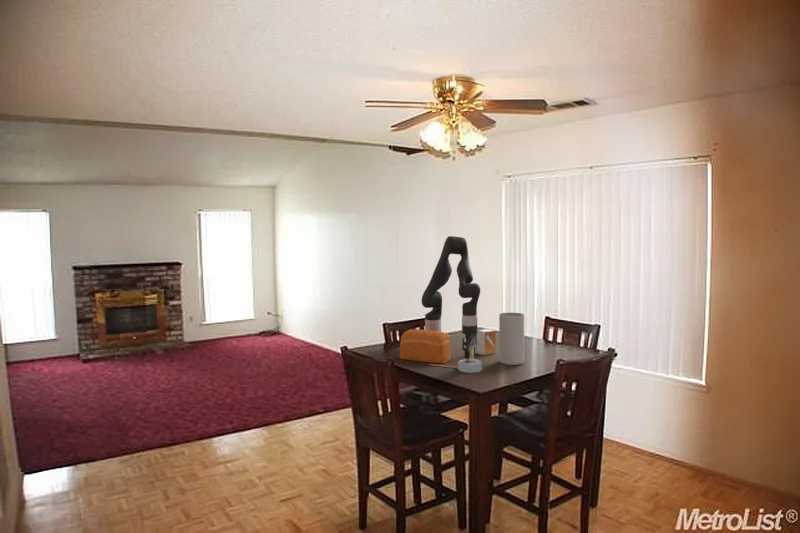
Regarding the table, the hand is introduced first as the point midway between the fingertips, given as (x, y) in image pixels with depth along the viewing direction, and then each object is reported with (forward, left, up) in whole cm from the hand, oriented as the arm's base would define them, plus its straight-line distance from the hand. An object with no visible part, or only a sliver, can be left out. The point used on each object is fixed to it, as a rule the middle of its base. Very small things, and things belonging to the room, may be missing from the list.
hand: (469, 356), depth 269 cm
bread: (-29, +11, -7) cm, 32 cm away
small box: (-3, +36, -7) cm, 37 cm away
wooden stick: (-14, 0, -7) cm, 15 cm away
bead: (0, 0, -7) cm, 7 cm away
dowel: (0, 0, -7) cm, 7 cm away
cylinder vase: (+15, +22, -7) cm, 27 cm away
